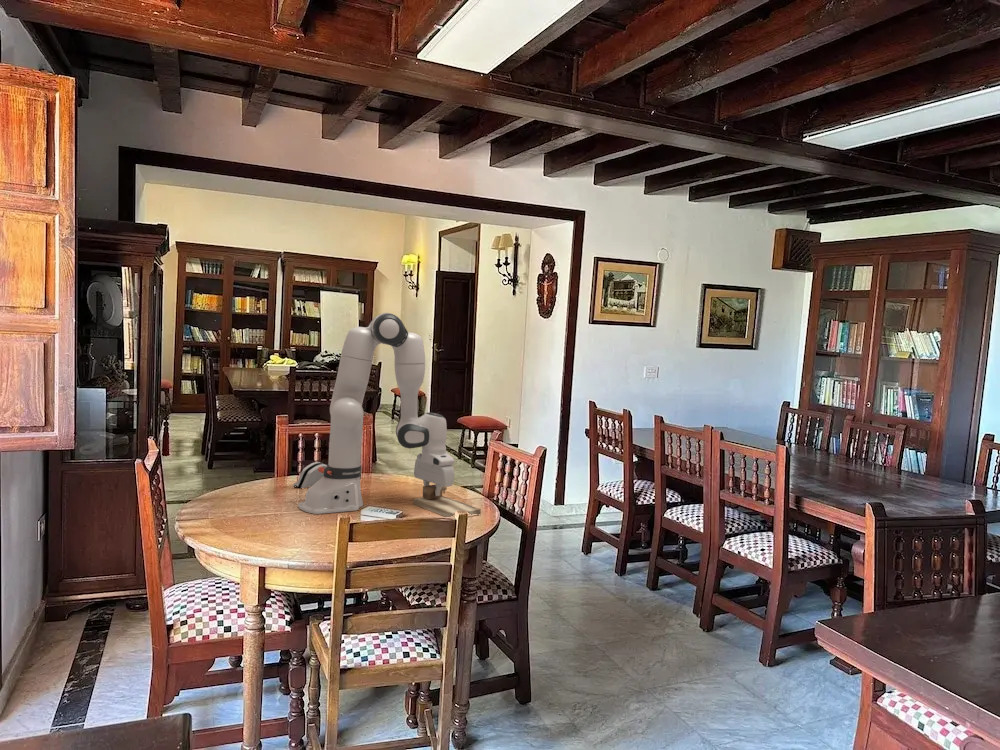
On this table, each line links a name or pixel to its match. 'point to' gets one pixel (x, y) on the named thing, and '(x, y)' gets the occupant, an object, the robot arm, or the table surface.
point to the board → (445, 506)
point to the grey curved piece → (310, 475)
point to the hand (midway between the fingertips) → (432, 494)
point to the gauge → (432, 491)
